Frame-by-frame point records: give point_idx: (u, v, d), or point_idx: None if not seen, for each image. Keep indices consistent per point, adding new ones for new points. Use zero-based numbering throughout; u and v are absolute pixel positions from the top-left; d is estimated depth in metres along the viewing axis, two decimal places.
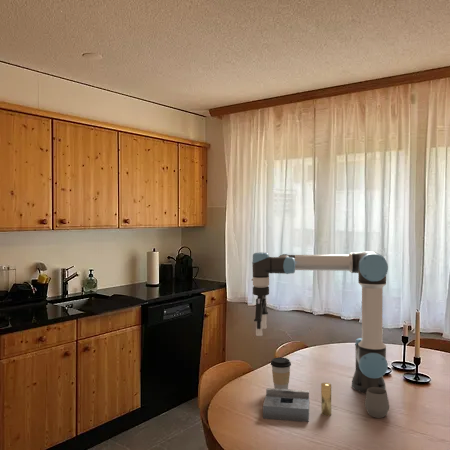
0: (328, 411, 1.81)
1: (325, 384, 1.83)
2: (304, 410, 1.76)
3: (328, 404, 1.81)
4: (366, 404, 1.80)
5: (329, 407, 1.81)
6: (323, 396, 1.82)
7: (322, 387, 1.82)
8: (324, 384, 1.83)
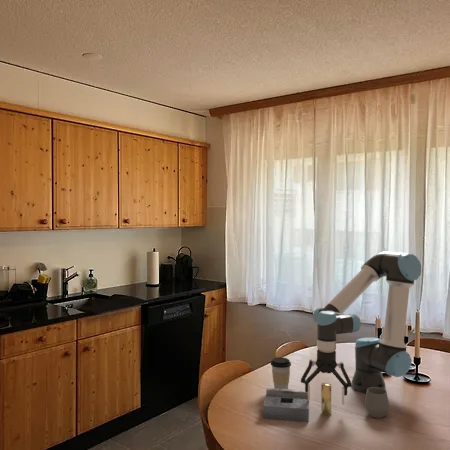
0: (328, 411, 1.81)
1: (325, 384, 1.83)
2: (304, 410, 1.76)
3: (328, 404, 1.81)
4: (366, 404, 1.80)
5: (329, 407, 1.81)
6: (323, 396, 1.82)
7: (322, 387, 1.82)
8: (324, 384, 1.83)
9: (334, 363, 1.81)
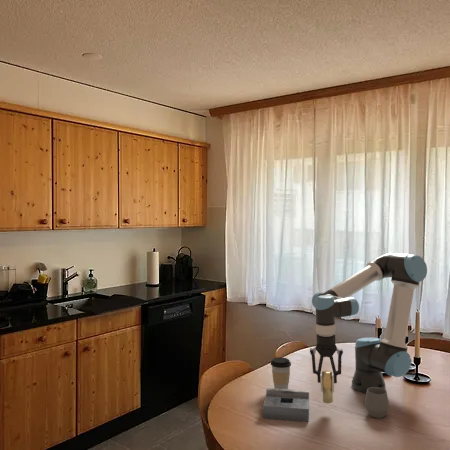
0: (329, 398, 1.81)
1: (326, 372, 1.83)
2: (304, 410, 1.76)
3: (330, 392, 1.81)
4: (366, 404, 1.80)
5: (330, 395, 1.81)
6: (324, 384, 1.82)
7: (323, 375, 1.82)
8: (325, 372, 1.83)
9: (335, 347, 1.81)
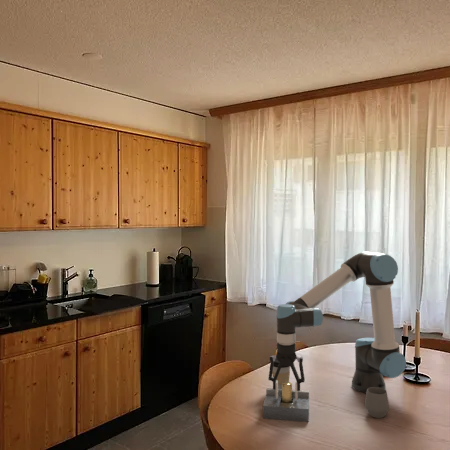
0: None
1: (286, 383, 1.84)
2: (304, 410, 1.76)
3: None
4: (366, 404, 1.80)
5: None
6: (283, 395, 1.83)
7: (283, 386, 1.83)
8: (285, 383, 1.84)
9: (294, 356, 1.82)
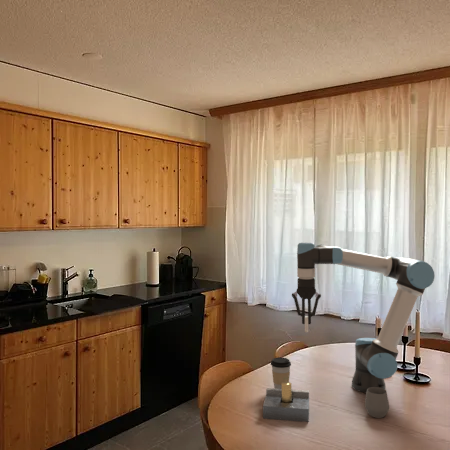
0: None
1: (285, 383, 1.84)
2: (304, 410, 1.76)
3: None
4: (366, 404, 1.80)
5: None
6: (283, 395, 1.83)
7: (282, 386, 1.83)
8: (284, 383, 1.84)
9: (314, 290, 1.94)
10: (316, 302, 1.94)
